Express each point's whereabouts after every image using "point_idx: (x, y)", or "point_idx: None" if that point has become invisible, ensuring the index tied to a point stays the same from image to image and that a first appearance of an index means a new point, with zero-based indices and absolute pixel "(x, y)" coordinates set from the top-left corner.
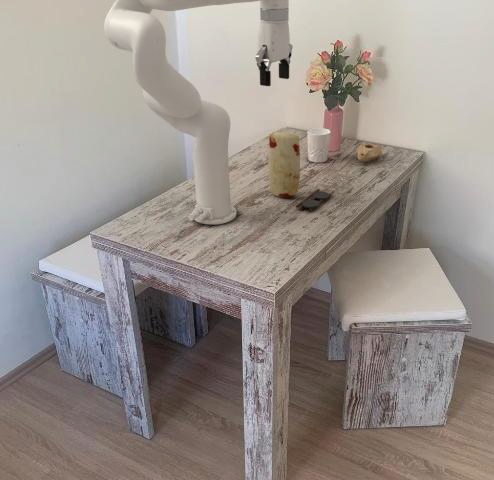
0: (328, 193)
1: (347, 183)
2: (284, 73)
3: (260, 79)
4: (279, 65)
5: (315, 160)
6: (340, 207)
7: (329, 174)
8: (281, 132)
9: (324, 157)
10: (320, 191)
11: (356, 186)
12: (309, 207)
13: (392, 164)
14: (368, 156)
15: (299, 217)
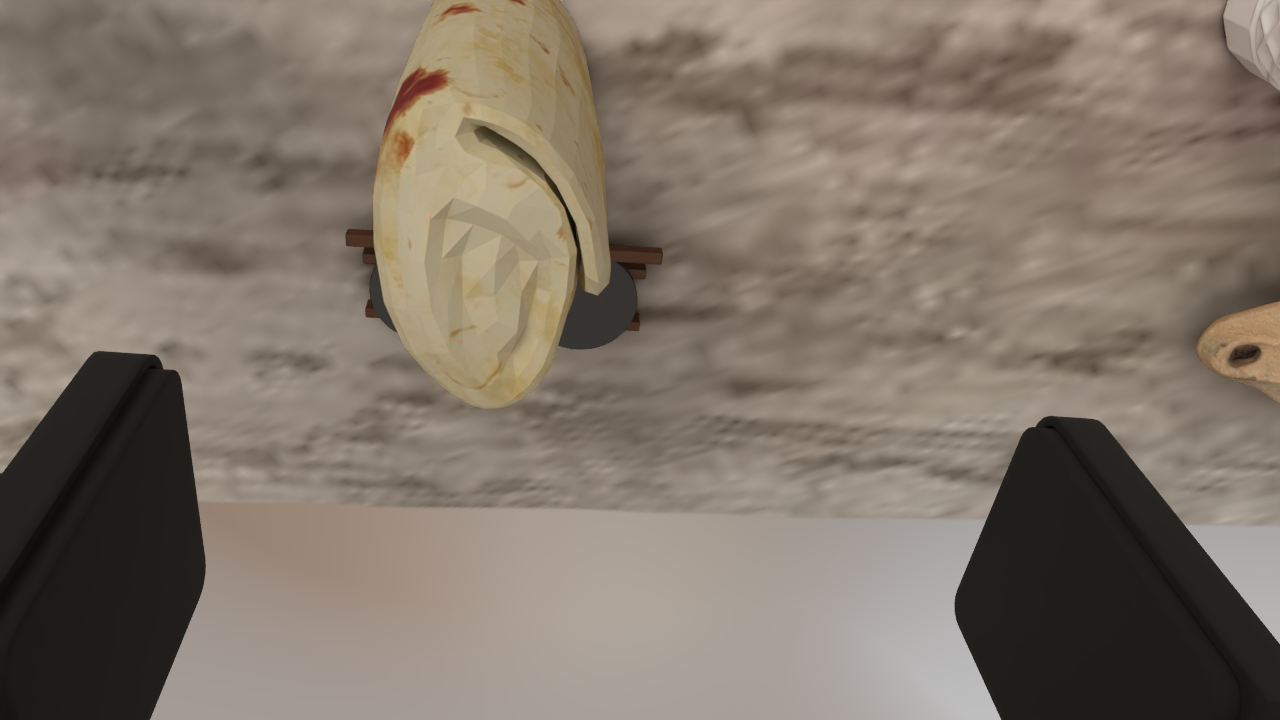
0: (619, 333)
1: (872, 339)
2: (1018, 636)
3: (37, 450)
4: (1183, 683)
5: (1233, 10)
6: (518, 418)
7: (998, 190)
8: (495, 233)
9: (1264, 78)
10: (629, 281)
11: (842, 395)
12: (374, 309)
13: (1238, 455)
14: (1240, 380)
15: (265, 281)
